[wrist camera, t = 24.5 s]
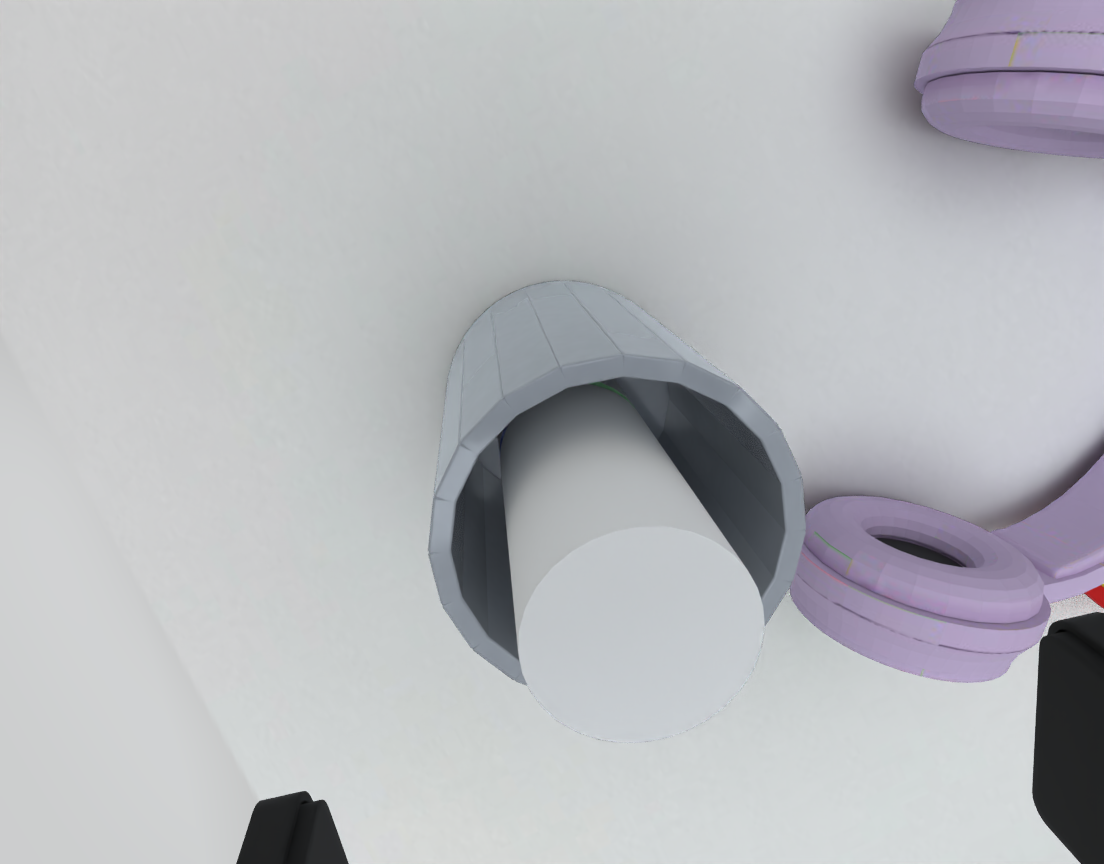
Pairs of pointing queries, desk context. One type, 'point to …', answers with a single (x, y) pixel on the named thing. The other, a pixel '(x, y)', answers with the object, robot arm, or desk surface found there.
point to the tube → (619, 574)
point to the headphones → (933, 536)
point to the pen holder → (661, 400)
